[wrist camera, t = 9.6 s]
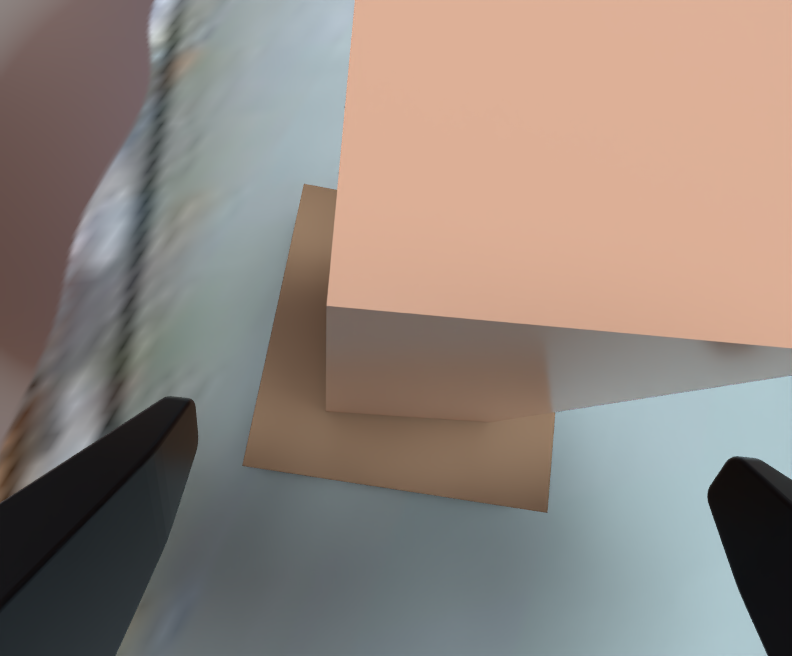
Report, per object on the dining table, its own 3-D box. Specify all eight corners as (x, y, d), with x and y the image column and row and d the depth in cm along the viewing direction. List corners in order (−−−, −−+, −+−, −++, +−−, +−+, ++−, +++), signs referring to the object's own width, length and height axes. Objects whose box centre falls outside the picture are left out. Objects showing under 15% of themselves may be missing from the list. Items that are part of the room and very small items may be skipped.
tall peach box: (490, 422, 17) (901, 359, 5) (325, 411, 16) (326, 306, 4) (491, 268, 18) (818, -84, 6) (339, 252, 18) (371, -176, 5)
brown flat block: (509, 499, 20) (547, 512, 16) (262, 461, 20) (242, 465, 16) (531, 269, 23) (569, 233, 19) (311, 229, 22) (303, 183, 18)
